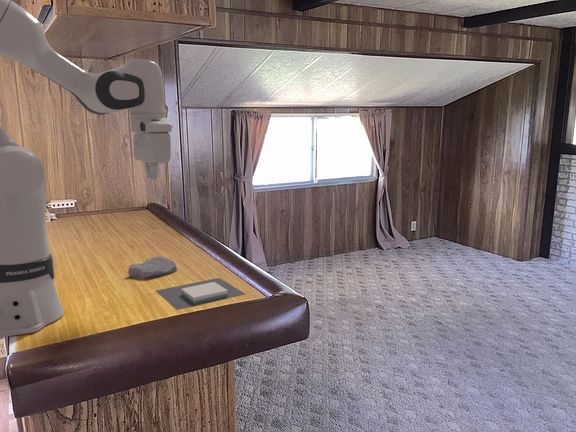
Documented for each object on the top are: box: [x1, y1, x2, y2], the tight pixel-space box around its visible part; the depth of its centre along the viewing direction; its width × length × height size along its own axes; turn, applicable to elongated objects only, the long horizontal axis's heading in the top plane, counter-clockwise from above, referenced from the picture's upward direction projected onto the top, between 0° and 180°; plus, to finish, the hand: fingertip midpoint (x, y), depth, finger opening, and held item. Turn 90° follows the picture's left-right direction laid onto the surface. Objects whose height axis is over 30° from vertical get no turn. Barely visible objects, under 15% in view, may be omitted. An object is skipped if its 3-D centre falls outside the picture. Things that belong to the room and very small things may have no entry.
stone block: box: [127, 256, 178, 280], centre depth 138 cm, size 12×5×10 cm
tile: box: [181, 282, 228, 304], centre depth 118 cm, size 9×2×8 cm
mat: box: [155, 277, 246, 311], centre depth 121 cm, size 18×16×1 cm
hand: (152, 179), depth 124 cm, fingers closed
